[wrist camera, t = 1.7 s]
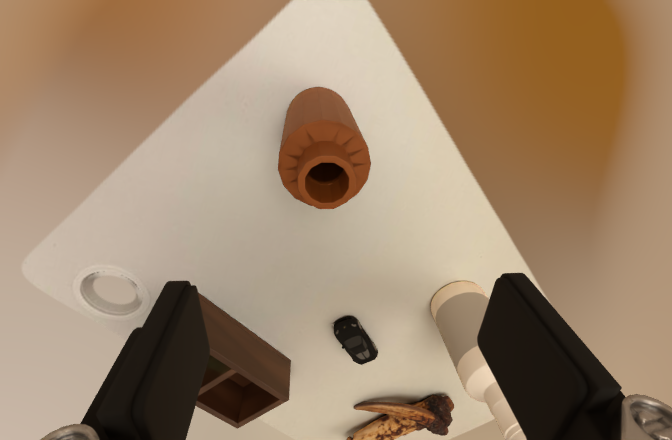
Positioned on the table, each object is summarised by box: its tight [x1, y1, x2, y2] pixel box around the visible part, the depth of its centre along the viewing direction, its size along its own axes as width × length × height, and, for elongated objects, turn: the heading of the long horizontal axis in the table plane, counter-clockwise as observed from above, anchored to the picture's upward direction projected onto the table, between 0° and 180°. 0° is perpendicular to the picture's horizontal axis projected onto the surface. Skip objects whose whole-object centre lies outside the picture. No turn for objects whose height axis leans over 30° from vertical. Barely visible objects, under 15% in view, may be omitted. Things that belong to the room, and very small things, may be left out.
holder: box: [195, 293, 291, 428], centre depth 41 cm, size 9×16×6 cm, turn 37°
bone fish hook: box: [347, 395, 454, 440], centre depth 52 cm, size 9×5×18 cm
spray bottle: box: [431, 281, 527, 440], centre depth 35 cm, size 7×7×18 cm
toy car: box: [334, 316, 378, 365], centre depth 44 cm, size 8×3×2 cm, turn 27°
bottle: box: [278, 87, 371, 209], centre depth 25 cm, size 6×6×14 cm
